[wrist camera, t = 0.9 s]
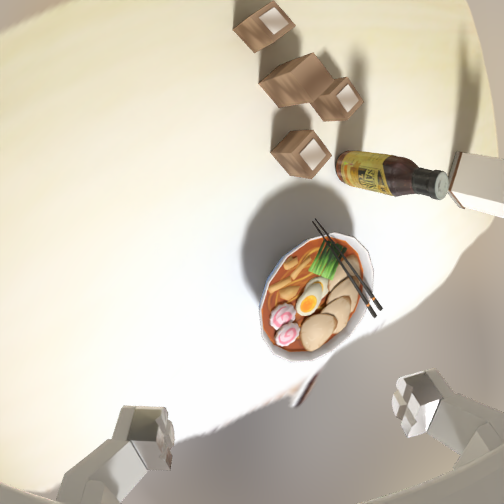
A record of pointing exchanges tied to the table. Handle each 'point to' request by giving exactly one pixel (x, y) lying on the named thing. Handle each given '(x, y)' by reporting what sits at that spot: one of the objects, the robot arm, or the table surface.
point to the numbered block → (264, 27)
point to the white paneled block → (301, 153)
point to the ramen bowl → (316, 296)
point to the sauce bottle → (390, 175)
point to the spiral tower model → (477, 183)
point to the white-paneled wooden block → (337, 101)
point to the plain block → (297, 81)
